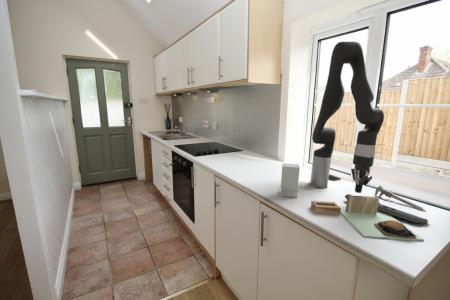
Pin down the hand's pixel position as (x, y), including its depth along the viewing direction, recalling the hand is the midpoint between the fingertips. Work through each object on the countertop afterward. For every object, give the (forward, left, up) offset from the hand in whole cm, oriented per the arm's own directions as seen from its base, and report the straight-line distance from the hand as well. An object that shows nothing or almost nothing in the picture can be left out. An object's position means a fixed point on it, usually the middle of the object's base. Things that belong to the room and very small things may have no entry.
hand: (357, 192), depth 100 cm
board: (+6, +5, -3) cm, 9 cm away
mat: (+13, 0, -7) cm, 15 cm away
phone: (-45, +5, -8) cm, 46 cm away
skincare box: (-10, -28, -7) cm, 31 cm away
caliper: (-8, +24, -8) cm, 27 cm away
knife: (+2, +10, -7) cm, 12 cm away
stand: (+6, -16, -7) cm, 18 cm away
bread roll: (+21, +3, -7) cm, 22 cm away
